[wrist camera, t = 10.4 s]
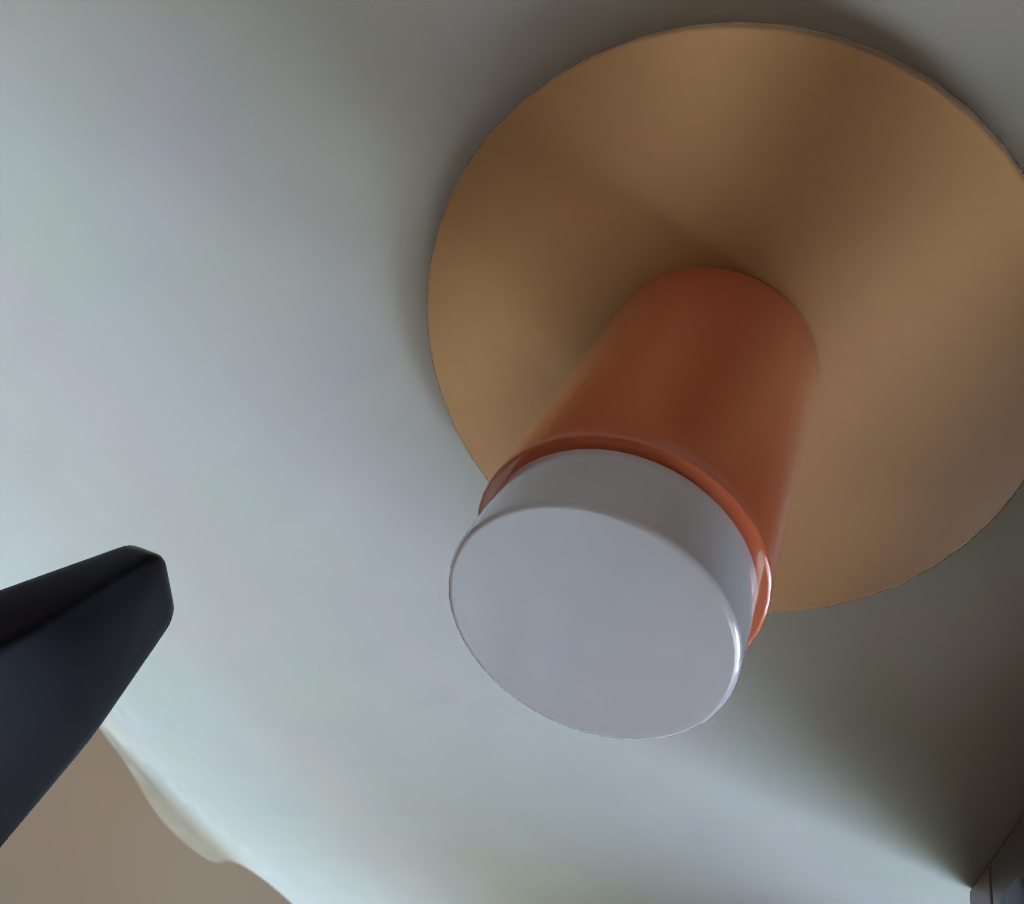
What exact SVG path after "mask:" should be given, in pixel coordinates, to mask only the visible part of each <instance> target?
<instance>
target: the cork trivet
mask: <svg viewBox="0 0 1024 904" xmlns="http://www.w3.org/2000/svg"><path fill="white" fill-rule="evenodd" d="M695 267H715V268H721V269H728V270H732V271H736V272H739V273H743V274H746V275H748V276H750V277H753V278H755V279H758V280H760V281H761V282H763V283H765V284H766V285H768V286H770V287H772V288H773V289H774V290H776V291H777V292H778V293H780V294H781V295H782V296H783V297H785V298H786V299H787V300H788V301H789V302H790V303H791V304H792V305H793V306H794V307H795V309H796V310H797V311H798V313H799V314H800V315H801V317H802V318H803V319H804V321H805V323H806V325H807V326H808V328H809V330H810V332H811V334H812V337H813V339H814V342H815V344H816V348H817V353H818V357H819V367H820V377H819V387H818V392H817V396H816V401H815V405H814V410H813V414H812V419H811V423H810V428H809V432H808V437H807V441H806V446H805V450H804V455H803V459H802V464H801V468H800V473H799V477H798V482H797V486H796V491H795V496H794V500H793V505H792V509H791V514H790V518H789V523H788V527H787V532H786V536H785V541H784V545H783V550H782V554H781V559H780V563H779V568H778V572H777V577H776V581H775V586H774V590H773V595H772V599H771V604H770V608H769V612H768V613H771V612H794V611H802V610H809V609H816V608H824V607H830V606H834V605H838V604H842V603H846V602H850V601H854V600H858V599H862V598H865V597H868V596H871V595H873V594H876V593H879V592H881V591H884V590H887V589H889V588H892V587H895V586H897V585H900V584H902V583H904V582H906V581H907V580H909V579H911V578H913V577H915V576H917V575H919V574H921V573H923V572H925V571H927V570H929V569H931V568H933V567H934V566H936V565H937V564H939V563H940V562H941V561H943V560H944V559H946V558H947V557H949V556H950V555H952V554H953V553H955V552H956V551H957V550H959V549H960V548H962V547H963V546H965V545H966V544H967V543H968V542H969V541H970V540H971V539H973V538H974V537H975V536H976V535H977V534H978V533H979V532H980V531H981V530H983V529H984V528H985V527H986V526H987V525H988V524H989V523H990V522H991V521H992V520H994V519H995V518H996V516H997V515H998V514H999V513H1000V512H1001V510H1002V509H1003V508H1004V507H1005V506H1006V504H1007V503H1008V502H1009V501H1010V500H1011V498H1012V497H1013V496H1014V495H1015V494H1016V492H1017V491H1018V490H1019V489H1020V488H1021V486H1022V484H1023V483H1024V174H1023V172H1022V171H1021V169H1020V168H1019V166H1018V165H1017V163H1016V162H1015V161H1014V159H1013V158H1012V156H1011V155H1010V153H1009V152H1008V150H1007V149H1006V147H1005V146H1004V144H1003V143H1002V142H1001V141H1000V140H999V139H998V138H997V137H996V136H995V135H994V134H993V133H992V132H991V131H990V129H989V128H988V127H987V126H986V125H985V124H984V123H983V122H982V121H981V120H980V119H979V118H978V117H977V116H976V115H975V114H974V113H973V112H972V110H971V109H970V108H969V107H967V106H966V105H965V104H963V103H962V102H961V101H959V100H958V99H957V98H956V97H954V96H953V95H952V94H950V93H949V92H948V91H946V90H945V89H944V88H943V87H941V86H940V85H939V84H937V83H936V82H935V81H933V80H932V79H931V78H930V77H928V76H926V75H924V74H922V73H921V72H919V71H917V70H915V69H913V68H912V67H910V66H908V65H906V64H904V63H903V62H901V61H899V60H897V59H895V58H893V57H892V56H890V55H888V54H886V53H884V52H882V51H879V50H876V49H874V48H871V47H868V46H865V45H863V44H860V43H857V42H855V41H852V40H849V39H847V38H844V37H841V36H838V35H835V34H830V33H825V32H821V31H816V30H811V29H807V28H802V27H797V26H792V25H788V24H772V23H757V22H741V21H736V22H723V23H710V24H698V25H688V26H684V27H679V28H675V29H670V30H666V31H661V32H657V33H653V34H648V35H644V36H641V37H639V38H636V39H633V40H631V41H628V42H625V43H623V44H620V45H617V46H615V47H612V48H610V49H607V50H604V51H602V52H600V53H597V54H595V55H593V56H591V57H590V58H588V59H586V60H584V61H582V62H581V63H579V64H577V65H575V66H573V67H572V68H570V69H568V70H566V71H564V72H562V73H561V74H559V75H557V76H555V77H554V78H552V79H551V80H550V81H548V82H547V83H546V84H544V85H543V86H542V87H540V88H539V89H538V90H536V91H535V92H534V93H532V94H531V95H530V96H529V97H527V98H526V99H525V100H523V101H522V102H521V103H519V104H518V106H517V107H516V108H515V109H514V110H513V111H512V112H511V113H510V114H509V115H508V116H507V117H506V118H505V119H504V120H503V121H502V122H501V123H500V124H499V125H498V126H497V127H496V128H495V129H494V130H493V131H492V132H491V133H490V135H489V136H488V137H487V139H486V140H485V141H484V143H483V144H482V145H481V147H480V148H479V149H478V151H477V152H476V153H475V155H474V156H473V157H472V159H471V160H470V162H469V163H468V165H467V166H466V168H465V170H464V172H463V174H462V176H461V178H460V179H459V181H458V183H457V185H456V187H455V189H454V190H453V192H452V194H451V196H450V199H449V201H448V204H447V207H446V209H445V212H444V215H443V217H442V220H441V223H440V225H439V228H438V231H437V235H436V240H435V244H434V249H433V253H432V257H431V262H430V268H429V279H428V290H427V323H428V338H429V344H430V350H431V356H432V362H433V367H434V371H435V374H436V378H437V381H438V385H439V388H440V392H441V395H442V398H443V401H444V403H445V406H446V408H447V410H448V413H449V415H450V418H451V420H452V422H453V425H454V427H455V429H456V431H457V433H458V435H459V436H460V438H461V440H462V442H463V444H464V445H465V447H466V449H467V451H468V453H469V454H470V456H471V458H472V459H473V461H474V462H475V463H476V465H477V466H478V468H479V469H480V470H481V472H482V473H483V475H484V476H485V478H486V479H487V480H488V482H489V481H490V479H491V478H492V477H493V475H494V474H495V473H496V471H497V470H498V469H499V467H500V466H501V465H502V463H503V462H504V461H505V459H506V458H507V457H508V455H509V454H510V453H511V451H512V450H513V449H514V447H515V446H516V445H517V443H518V442H519V441H520V439H521V438H522V437H523V435H524V434H525V433H526V431H527V430H528V429H529V427H530V426H531V425H532V423H533V422H534V421H535V419H536V418H537V417H538V415H539V414H540V413H541V411H542V410H543V409H544V407H545V406H546V405H547V403H548V402H549V401H550V399H551V398H552V397H553V395H554V394H555V393H556V391H557V390H558V389H559V387H560V386H561V385H562V383H563V382H564V381H565V379H566V378H567V377H568V375H569V374H570V373H571V371H572V370H573V369H574V367H575V366H576V365H577V363H578V362H579V361H580V359H581V358H582V357H583V355H584V354H585V353H586V351H587V350H588V349H589V347H590V346H591V345H592V343H593V342H594V341H595V339H596V338H597V337H598V335H599V334H600V333H601V331H602V330H603V329H604V327H605V326H606V325H607V323H608V322H609V321H610V319H611V318H612V317H613V315H614V314H615V313H616V311H617V310H618V309H619V307H620V306H621V305H622V303H623V302H624V301H625V300H626V299H627V298H628V297H629V296H630V295H631V294H632V293H633V292H634V291H635V290H637V289H638V288H639V287H641V286H642V285H644V284H645V283H647V282H649V281H650V280H652V279H654V278H656V277H658V276H661V275H663V274H666V273H669V272H672V271H676V270H681V269H685V268H695Z"/></svg>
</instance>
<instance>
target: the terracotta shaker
mask: <svg viewBox="0 0 1024 904" xmlns="http://www.w3.org/2000/svg"><path fill="white" fill-rule="evenodd" d="M819 377H820V367H819V357H818V353H817V348H816V344H815V342H814V339H813V337H812V334H811V332H810V330H809V328H808V326H807V325H806V323H805V321H804V319H803V318H802V317H801V315H800V314H799V313H798V311H797V310H796V309H795V307H794V306H793V305H792V304H791V303H790V302H789V301H788V300H787V299H786V298H785V297H783V296H782V295H781V294H780V293H778V292H777V291H776V290H774V289H773V288H772V287H770V286H768V285H766V284H765V283H763V282H761V281H760V280H758V279H755V278H753V277H750V276H748V275H746V274H743V273H739V272H736V271H732V270H728V269H721V268H715V267H695V268H685V269H681V270H676V271H672V272H669V273H666V274H663V275H661V276H658V277H656V278H654V279H652V280H650V281H649V282H647V283H645V284H644V285H642V286H641V287H639V288H638V289H637V290H635V291H634V292H633V293H632V294H631V295H630V296H629V297H628V298H627V299H626V300H625V301H624V302H623V303H622V305H621V306H620V307H619V309H618V310H617V311H616V313H615V314H614V315H613V317H612V318H611V319H610V321H609V322H608V323H607V325H606V326H605V327H604V329H603V330H602V331H601V333H600V334H599V335H598V337H597V338H596V339H595V341H594V342H593V343H592V345H591V346H590V347H589V349H588V350H587V351H586V353H585V354H584V355H583V357H582V358H581V359H580V361H579V362H578V363H577V365H576V366H575V367H574V369H573V370H572V371H571V373H570V374H569V375H568V377H567V378H566V379H565V381H564V382H563V383H562V385H561V386H560V387H559V389H558V390H557V391H556V393H555V394H554V395H553V397H552V398H551V399H550V401H549V402H548V403H547V405H546V406H545V407H544V409H543V410H542V411H541V413H540V414H539V415H538V417H537V418H536V419H535V421H534V422H533V423H532V425H531V426H530V427H529V429H528V430H527V431H526V433H525V434H524V435H523V437H522V438H521V439H520V441H519V442H518V443H517V445H516V446H515V447H514V449H513V450H512V451H511V453H510V454H509V455H508V457H507V458H506V459H505V461H504V462H503V463H502V465H501V466H500V467H499V469H498V470H497V471H496V473H495V474H494V475H493V477H492V478H491V479H490V481H489V483H488V485H487V487H486V489H485V491H484V493H483V496H482V499H481V502H480V505H479V510H478V517H477V519H476V520H475V522H474V523H473V524H472V526H471V527H470V529H469V530H468V531H467V533H466V534H465V536H464V537H463V538H462V540H461V542H460V543H459V545H458V547H457V549H456V551H455V553H454V557H453V560H452V563H451V567H450V575H449V599H450V605H451V610H452V614H453V617H454V620H455V623H456V626H457V628H458V630H459V632H460V635H461V637H462V639H463V641H464V642H465V644H466V646H467V647H468V649H469V651H470V652H471V654H472V655H473V656H474V658H475V659H476V660H477V662H478V663H479V664H480V666H481V667H482V668H483V669H484V670H485V671H486V672H487V673H488V675H489V676H490V677H491V678H492V679H493V680H494V681H495V682H496V683H498V684H499V685H500V686H501V687H502V688H503V689H504V690H505V691H506V692H508V693H509V694H510V695H512V696H513V697H514V698H516V699H517V700H518V701H520V702H521V703H523V704H524V705H526V706H527V707H529V708H530V709H532V710H534V711H535V712H537V713H539V714H541V715H543V716H544V717H546V718H548V719H550V720H552V721H555V722H557V723H559V724H562V725H564V726H566V727H569V728H572V729H575V730H578V731H581V732H584V733H588V734H592V735H596V736H600V737H605V738H613V739H620V740H651V739H659V738H664V737H670V736H673V735H677V734H680V733H683V732H686V731H688V730H690V729H692V728H694V727H696V726H698V725H700V724H702V723H703V722H704V721H706V720H707V719H709V718H710V717H712V716H713V715H714V714H715V713H716V712H717V711H718V710H719V709H720V708H721V707H722V706H723V705H724V704H725V703H726V701H727V700H728V698H729V697H730V695H731V694H732V693H733V691H734V688H735V686H736V684H737V682H738V679H739V676H740V672H741V668H742V664H743V660H744V655H745V651H746V648H747V647H748V646H749V644H750V643H751V642H752V641H753V640H754V639H755V637H756V636H757V634H758V633H759V631H760V630H761V628H762V626H763V624H764V622H765V620H766V617H767V615H768V612H769V608H770V604H771V599H772V595H773V590H774V586H775V581H776V577H777V572H778V568H779V563H780V559H781V554H782V550H783V545H784V541H785V536H786V532H787V527H788V523H789V518H790V514H791V509H792V505H793V500H794V496H795V491H796V486H797V482H798V477H799V473H800V468H801V464H802V459H803V455H804V450H805V446H806V441H807V437H808V432H809V428H810V423H811V419H812V414H813V410H814V405H815V401H816V396H817V392H818V387H819Z"/></svg>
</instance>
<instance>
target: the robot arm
mask: <svg viewBox="0 0 1024 904" xmlns="http://www.w3.org/2000/svg"><path fill="white" fill-rule="evenodd" d="M173 611H174V604H173V598H172V593H171V588H170V583H169V578H168V573H167V568H166V564H165V561H164V559H163V558H162V557H161V556H160V555H158V554H156V553H153V552H151V551H148V550H145V549H143V548H140V547H137V546H130V545H129V546H123V547H120V548H117V549H114V550H111V551H108V552H106V553H103V554H100V555H97V556H94V557H92V558H89V559H86V560H83V561H81V562H78V563H75V564H72V565H69V566H67V567H64V568H61V569H58V570H55V571H53V572H50V573H47V574H44V575H41V576H39V577H36V578H33V579H30V580H27V581H25V582H22V583H19V584H16V585H13V586H11V587H8V588H5V589H2V590H0V847H1V846H2V845H3V843H4V842H5V841H6V840H7V839H8V837H9V836H10V835H11V834H12V833H13V831H14V830H15V829H16V828H17V827H18V826H19V824H20V823H21V822H22V821H23V820H24V818H25V817H26V816H27V815H28V813H29V812H30V811H31V810H32V809H33V808H34V806H35V805H36V804H37V803H38V802H39V800H40V799H41V798H42V797H43V796H44V794H45V793H46V792H47V791H48V790H49V789H50V787H51V786H52V785H53V784H54V783H55V781H56V780H57V779H58V778H59V776H60V775H61V774H62V773H63V772H64V771H65V769H66V768H67V767H68V766H69V765H70V763H71V762H72V761H73V760H74V759H75V757H76V756H77V755H78V754H79V753H80V751H81V750H82V749H83V748H84V746H85V745H86V744H87V743H88V741H89V740H90V739H91V738H92V736H93V735H94V733H95V732H96V731H97V729H98V728H99V727H100V725H101V724H102V722H103V721H104V720H105V718H106V717H107V715H108V714H109V712H110V711H111V710H112V708H113V707H114V705H115V704H116V702H117V701H118V699H119V698H120V696H121V695H122V694H123V692H124V691H125V689H126V688H127V686H128V685H129V683H130V682H131V680H132V679H133V678H134V676H135V675H136V673H137V672H138V670H139V669H140V667H141V666H142V664H143V663H144V661H145V660H146V659H147V657H148V656H149V654H150V653H151V651H152V650H153V648H154V647H155V645H156V644H157V643H158V641H159V640H160V638H161V637H162V635H163V634H164V632H165V631H166V629H167V628H168V626H169V624H170V622H171V619H172V616H173ZM997 904H1024V875H1021V876H1019V877H1017V878H1016V879H1015V880H1014V881H1013V883H1012V884H1011V885H1010V887H1009V888H1008V889H1007V891H1006V892H1005V893H1004V895H1003V896H1002V898H1001V899H1000V900H999V902H998V903H997Z"/></svg>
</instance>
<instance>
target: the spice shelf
mask: <svg viewBox="0 0 1024 904" xmlns="http://www.w3.org/2000/svg"><path fill="white" fill-rule="evenodd" d="M1021 875H1024V816H1023V817H1022V819H1021V820H1020V821H1019V823H1018V824H1017V826H1016V827H1015V829H1014V830H1013V832H1012V833H1011V834H1010V836H1009V837H1008V839H1007V840H1006V842H1005V843H1004V845H1003V846H1002V847H1001V849H1000V850H999V852H998V853H997V855H996V856H995V858H994V859H993V860H992V862H991V865H988V867H987V868H986V870H985V871H984V872H983V874H982V875H981V877H980V878H979V880H978V881H977V883H976V884H975V886H974V887H973V888H972V890H971V891H970V904H997V903H998V902H999V900H1000V899H1001V898H1002V896H1003V895H1004V893H1005V892H1006V891H1007V889H1008V888H1009V887H1010V885H1011V884H1012V883H1013V881H1014V880H1015V879H1016V878H1017V877H1019V876H1021Z"/></svg>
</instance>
